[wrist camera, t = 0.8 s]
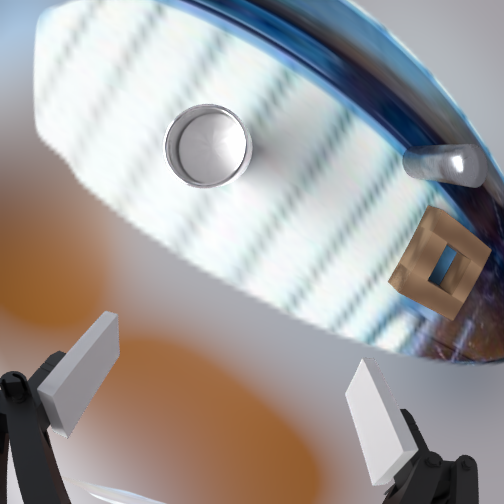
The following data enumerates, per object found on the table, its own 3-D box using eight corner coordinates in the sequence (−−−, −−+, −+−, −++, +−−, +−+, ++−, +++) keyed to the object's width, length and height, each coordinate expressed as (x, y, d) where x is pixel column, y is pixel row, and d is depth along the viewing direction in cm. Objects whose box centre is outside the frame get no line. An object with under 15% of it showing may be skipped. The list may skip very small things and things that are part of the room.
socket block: (428, 205, 37) (442, 210, 33) (476, 243, 38) (491, 250, 34) (387, 281, 40) (398, 292, 36) (440, 309, 41) (452, 320, 37)
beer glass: (256, 127, 35) (254, 103, 20) (252, 182, 37) (247, 194, 22) (200, 125, 35) (164, 101, 20) (196, 179, 37) (158, 189, 22)
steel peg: (409, 140, 34) (466, 135, 22) (432, 157, 35) (492, 160, 22) (397, 167, 35) (453, 172, 23) (421, 183, 36) (479, 195, 23)
